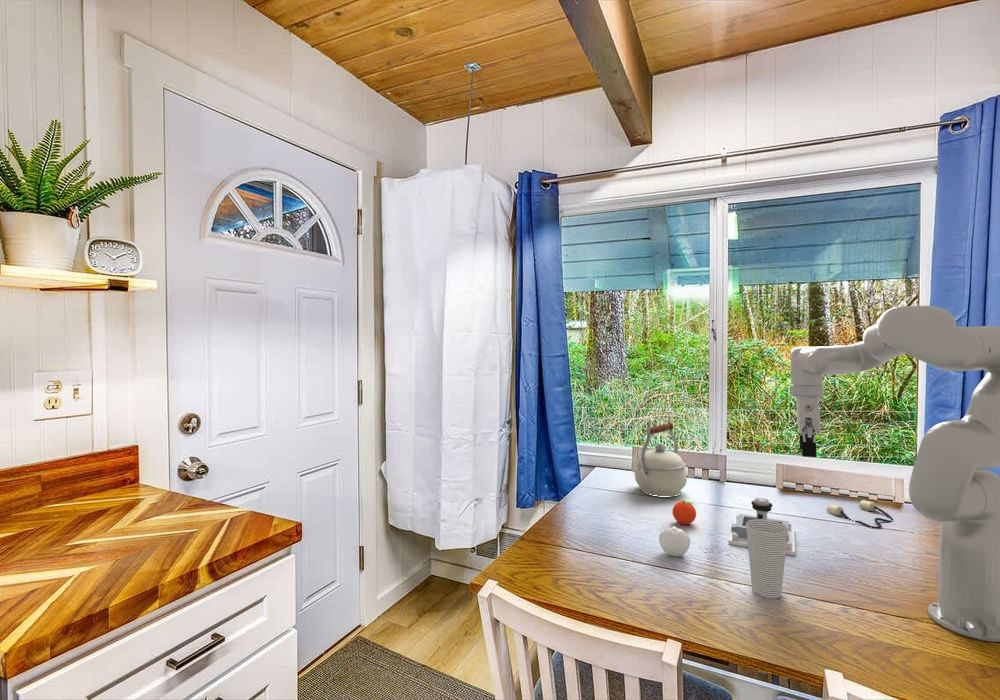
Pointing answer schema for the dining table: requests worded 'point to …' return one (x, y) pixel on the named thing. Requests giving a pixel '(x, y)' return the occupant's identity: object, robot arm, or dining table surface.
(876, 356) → the robot arm
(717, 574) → the dining table surface
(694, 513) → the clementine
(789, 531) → the frame
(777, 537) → the cup
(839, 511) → the cable
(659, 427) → the kettle
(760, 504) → the push button
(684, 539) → the white rounded piece
